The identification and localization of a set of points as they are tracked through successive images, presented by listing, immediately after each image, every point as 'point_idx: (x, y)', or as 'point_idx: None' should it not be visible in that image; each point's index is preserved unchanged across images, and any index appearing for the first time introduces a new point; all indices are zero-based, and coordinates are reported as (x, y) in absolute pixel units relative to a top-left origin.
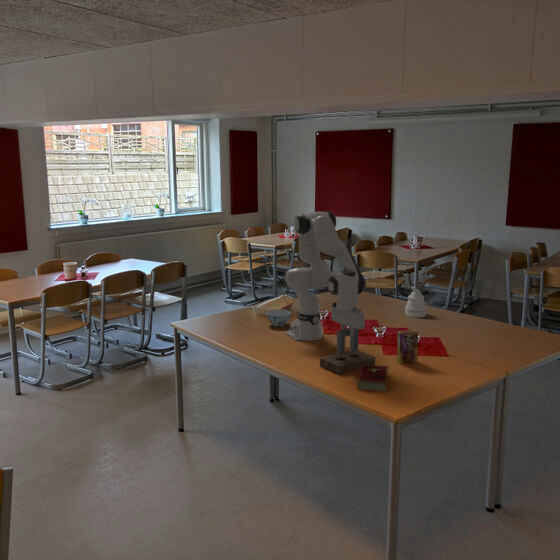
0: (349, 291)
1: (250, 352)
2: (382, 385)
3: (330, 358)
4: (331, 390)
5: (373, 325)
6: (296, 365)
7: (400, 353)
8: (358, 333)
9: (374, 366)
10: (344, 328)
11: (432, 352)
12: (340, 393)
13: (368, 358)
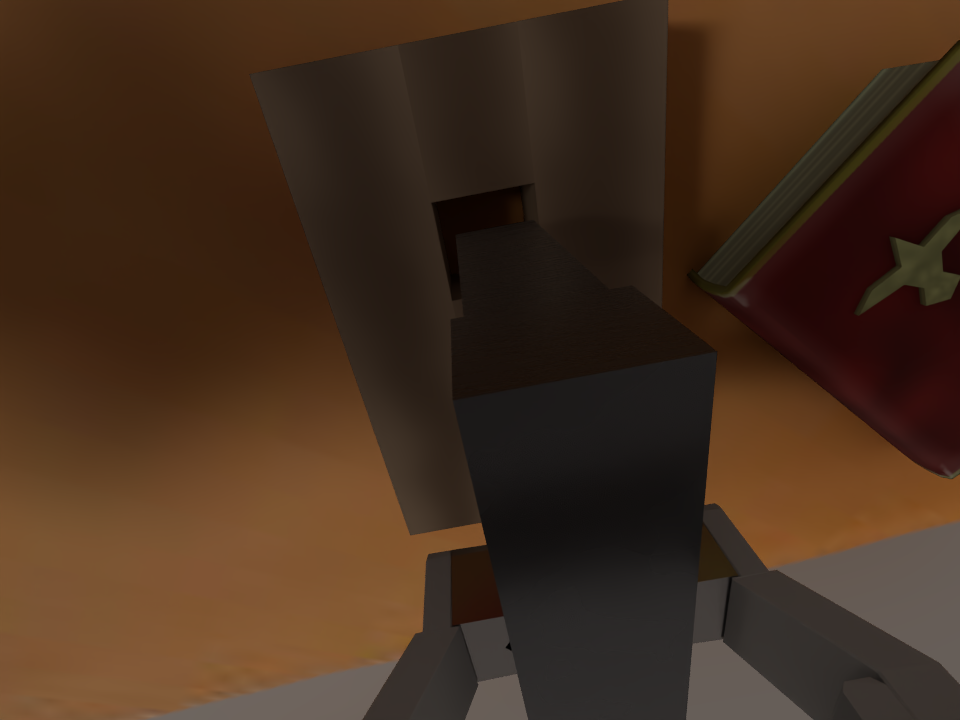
0: None
1: (29, 714)
2: None
3: (461, 477)
4: (793, 558)
5: None
6: (348, 589)
7: None
8: (636, 301)
9: (854, 200)
10: (456, 679)
11: None
12: (855, 538)
13: (662, 133)
